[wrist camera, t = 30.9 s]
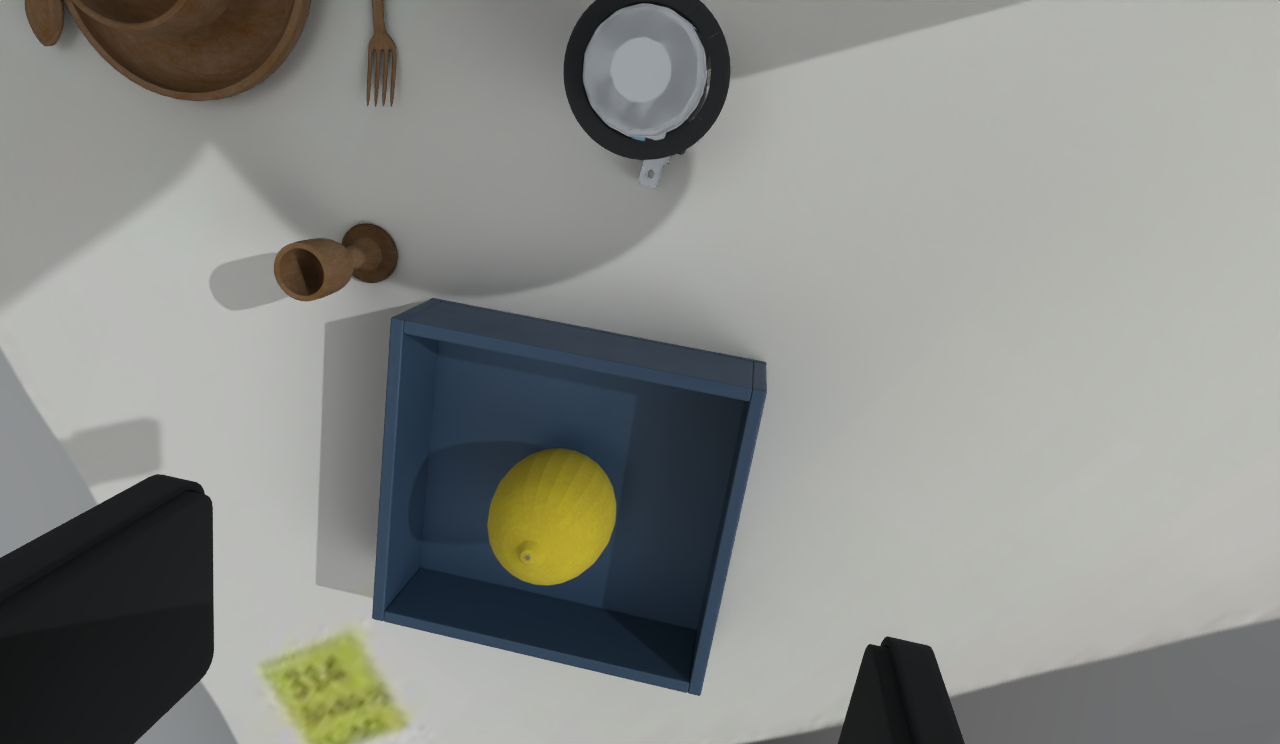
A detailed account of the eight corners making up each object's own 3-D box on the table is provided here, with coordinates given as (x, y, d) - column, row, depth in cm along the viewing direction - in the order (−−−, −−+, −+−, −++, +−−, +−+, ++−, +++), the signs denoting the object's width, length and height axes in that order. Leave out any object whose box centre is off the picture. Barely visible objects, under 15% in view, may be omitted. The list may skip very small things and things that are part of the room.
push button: (706, 201, 34) (685, 222, 25) (592, 166, 35) (528, 173, 25) (755, 44, 32) (752, 2, 23) (633, 8, 33) (580, -48, 23)
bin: (766, 362, 36) (767, 391, 32) (706, 638, 41) (700, 696, 36) (432, 297, 38) (390, 317, 33) (411, 570, 42) (371, 619, 38)
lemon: (616, 418, 38) (579, 487, 30) (638, 521, 39) (608, 613, 31) (508, 432, 39) (446, 502, 31) (533, 533, 40) (480, 624, 32)
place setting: (383, -202, 32) (302, -275, 26) (410, 284, 38) (349, 309, 32) (6, -189, 34) (-142, -254, 29) (85, 265, 40) (-25, 285, 34)
